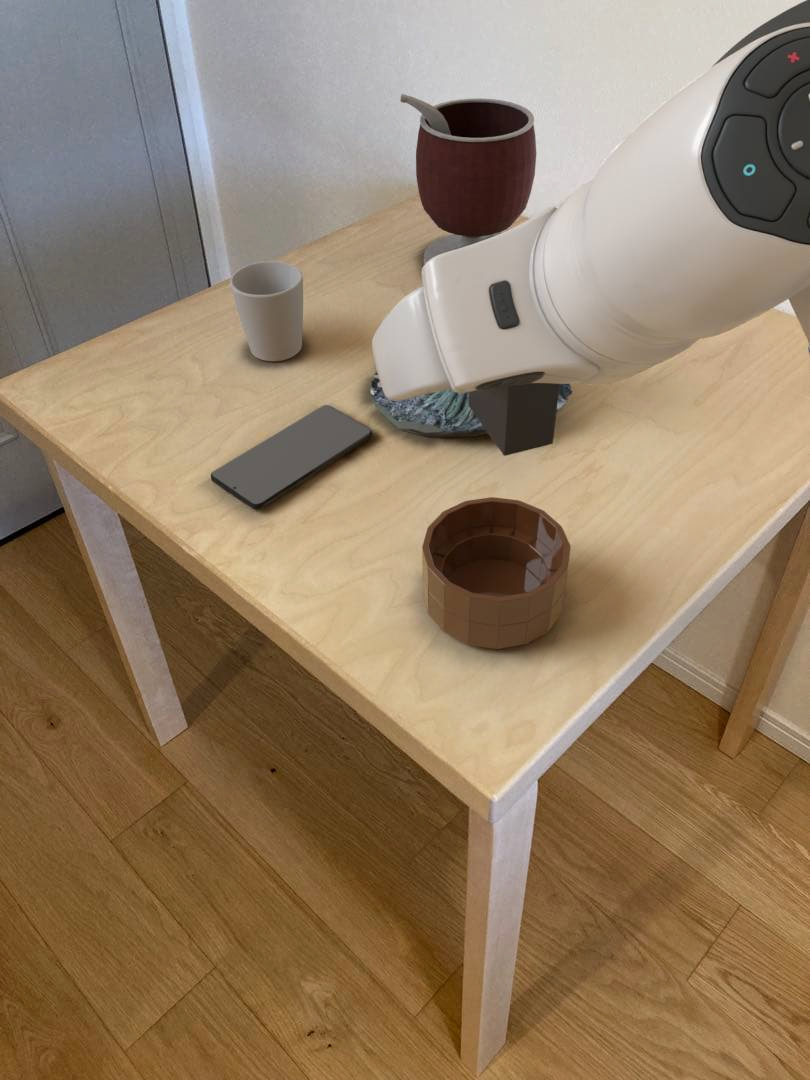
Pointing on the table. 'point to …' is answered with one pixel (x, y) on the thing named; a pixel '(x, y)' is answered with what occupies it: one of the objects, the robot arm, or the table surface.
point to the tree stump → (437, 411)
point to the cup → (270, 308)
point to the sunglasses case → (517, 415)
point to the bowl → (495, 572)
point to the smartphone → (290, 456)
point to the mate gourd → (473, 167)
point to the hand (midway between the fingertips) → (509, 357)
